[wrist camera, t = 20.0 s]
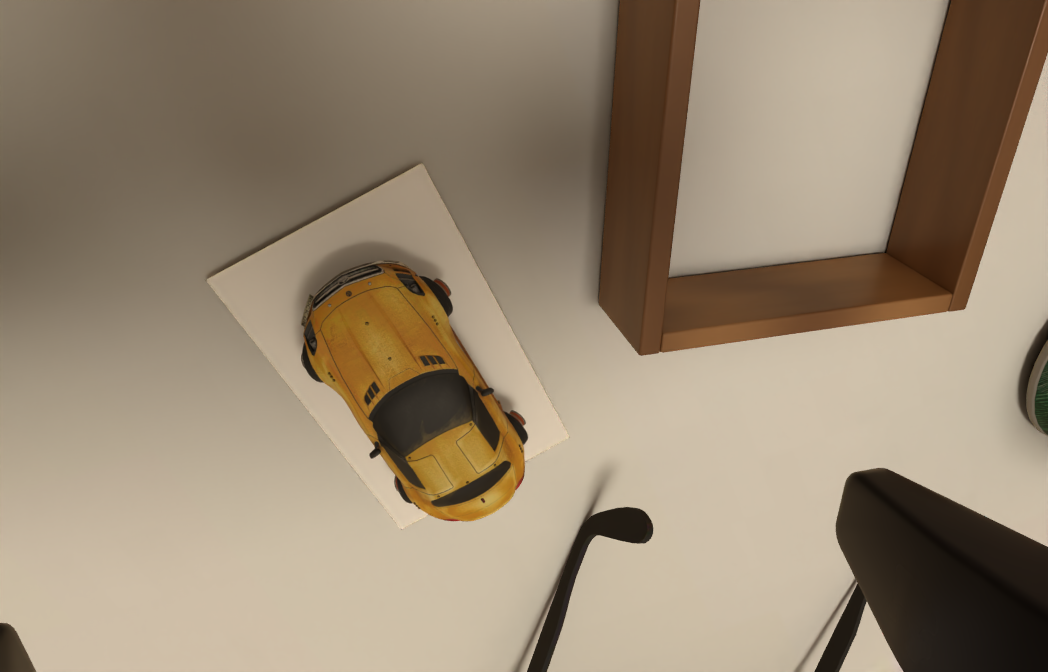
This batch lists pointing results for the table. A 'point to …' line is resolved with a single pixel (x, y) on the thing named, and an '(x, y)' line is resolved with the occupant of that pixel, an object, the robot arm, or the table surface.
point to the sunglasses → (639, 529)
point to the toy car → (398, 352)
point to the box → (827, 285)
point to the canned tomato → (1039, 392)
